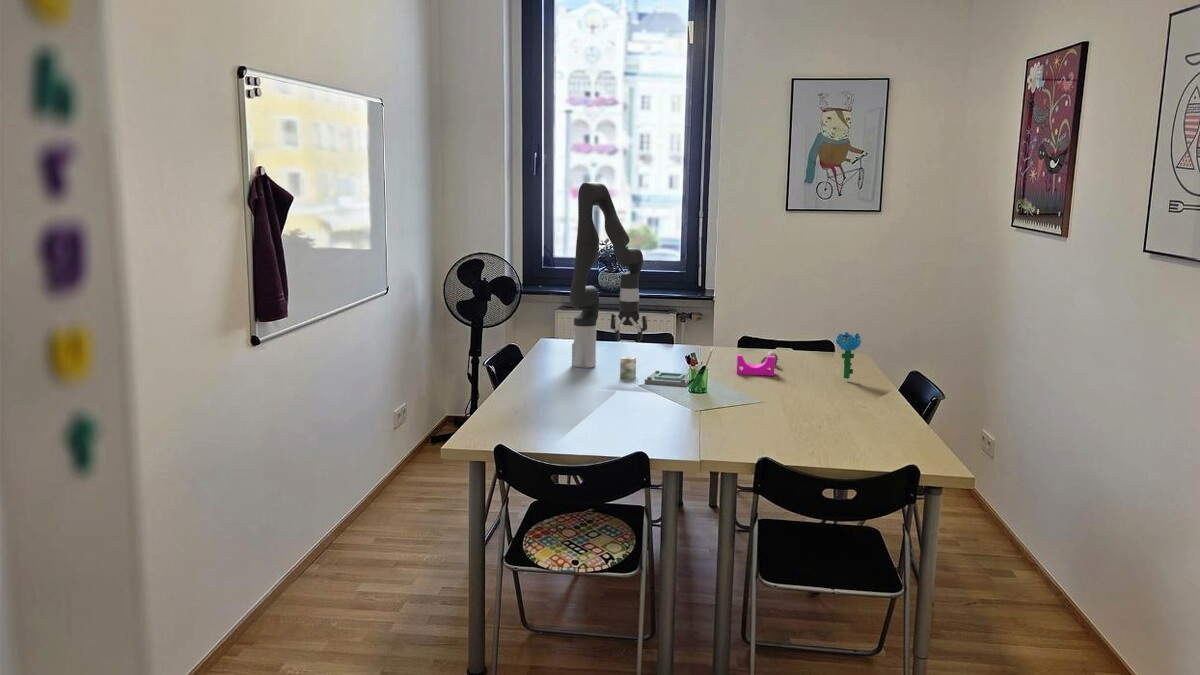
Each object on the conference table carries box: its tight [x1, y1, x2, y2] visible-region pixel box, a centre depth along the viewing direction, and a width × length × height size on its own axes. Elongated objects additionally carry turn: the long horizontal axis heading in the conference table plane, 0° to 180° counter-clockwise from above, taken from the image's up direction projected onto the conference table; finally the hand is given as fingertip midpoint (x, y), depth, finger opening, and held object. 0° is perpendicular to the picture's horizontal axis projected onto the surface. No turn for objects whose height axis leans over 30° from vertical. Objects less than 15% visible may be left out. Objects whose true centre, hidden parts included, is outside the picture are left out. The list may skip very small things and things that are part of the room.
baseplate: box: [644, 370, 690, 387], centre depth 350 cm, size 16×16×2 cm
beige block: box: [619, 355, 637, 380], centre depth 355 cm, size 5×5×8 cm
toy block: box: [736, 354, 776, 377], centre depth 368 cm, size 15×6×8 cm, turn 80°
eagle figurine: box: [760, 350, 779, 367], centre depth 382 cm, size 8×7×9 cm
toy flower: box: [835, 331, 862, 380], centre depth 359 cm, size 9×9×18 cm
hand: (628, 340), depth 353 cm, fingers open, 8 cm apart
